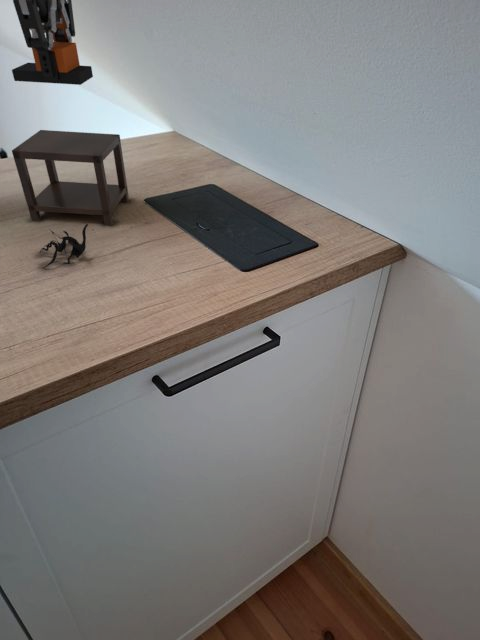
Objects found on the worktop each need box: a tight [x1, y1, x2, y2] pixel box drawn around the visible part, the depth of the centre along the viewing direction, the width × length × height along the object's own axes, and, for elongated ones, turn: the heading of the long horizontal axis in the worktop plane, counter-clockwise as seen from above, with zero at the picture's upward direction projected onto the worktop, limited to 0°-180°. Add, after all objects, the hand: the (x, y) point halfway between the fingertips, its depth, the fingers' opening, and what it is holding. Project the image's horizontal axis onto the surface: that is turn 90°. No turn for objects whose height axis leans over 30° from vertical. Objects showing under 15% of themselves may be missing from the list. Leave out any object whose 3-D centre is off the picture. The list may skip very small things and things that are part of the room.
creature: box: [39, 223, 89, 269], centre depth 74 cm, size 8×5×8 cm
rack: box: [11, 129, 130, 227], centre depth 85 cm, size 14×11×12 cm
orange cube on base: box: [11, 41, 94, 86], centre depth 73 cm, size 10×6×4 cm, turn 86°
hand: (60, 75), depth 74 cm, fingers closed on orange cube on base, 5 cm apart
